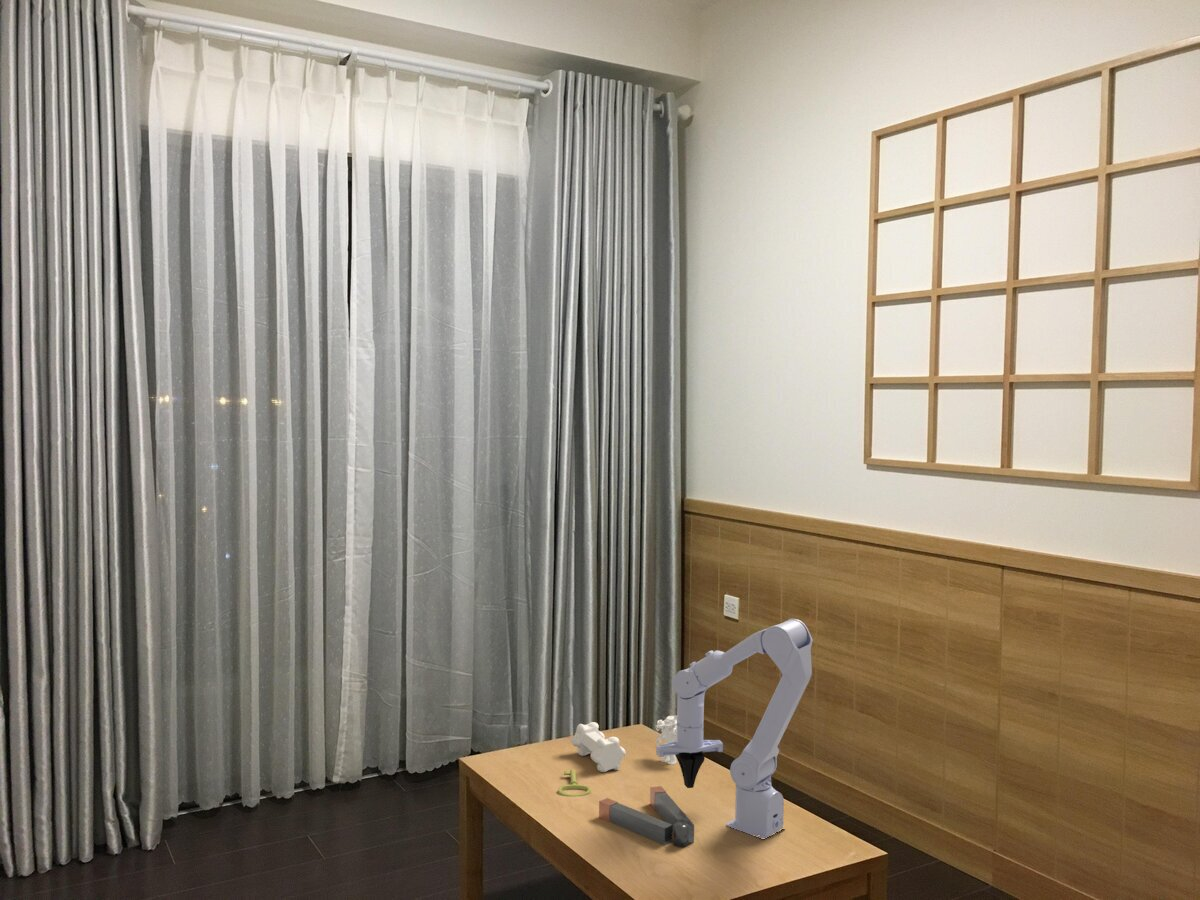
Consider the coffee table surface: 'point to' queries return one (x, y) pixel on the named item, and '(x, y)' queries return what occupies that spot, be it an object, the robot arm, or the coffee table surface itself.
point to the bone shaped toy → (598, 747)
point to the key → (573, 785)
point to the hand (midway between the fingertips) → (688, 786)
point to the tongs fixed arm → (635, 821)
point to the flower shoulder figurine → (668, 735)
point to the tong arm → (672, 816)
